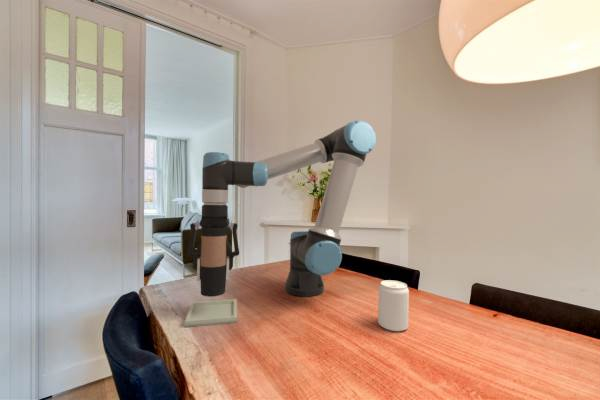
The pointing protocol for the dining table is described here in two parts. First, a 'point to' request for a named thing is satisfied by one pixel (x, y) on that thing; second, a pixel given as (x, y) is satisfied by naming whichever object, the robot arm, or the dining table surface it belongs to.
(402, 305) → the beverage can
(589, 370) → the dining table surface
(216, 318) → the tray
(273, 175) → the robot arm
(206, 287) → the travel mug
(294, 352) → the dining table surface
